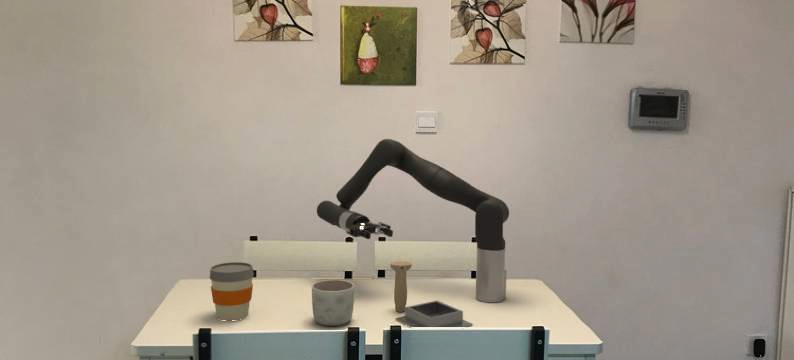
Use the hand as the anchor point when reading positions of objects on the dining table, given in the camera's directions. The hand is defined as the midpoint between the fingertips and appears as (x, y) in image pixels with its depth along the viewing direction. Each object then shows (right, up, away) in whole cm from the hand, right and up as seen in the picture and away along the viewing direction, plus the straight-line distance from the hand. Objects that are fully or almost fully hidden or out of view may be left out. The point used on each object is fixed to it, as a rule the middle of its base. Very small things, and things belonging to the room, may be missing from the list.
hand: (380, 234), depth 188 cm
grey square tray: (+16, -24, -16) cm, 33 cm away
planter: (-14, -24, -16) cm, 32 cm away
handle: (+6, -23, -6) cm, 25 cm away
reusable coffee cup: (-44, -23, -13) cm, 51 cm away
